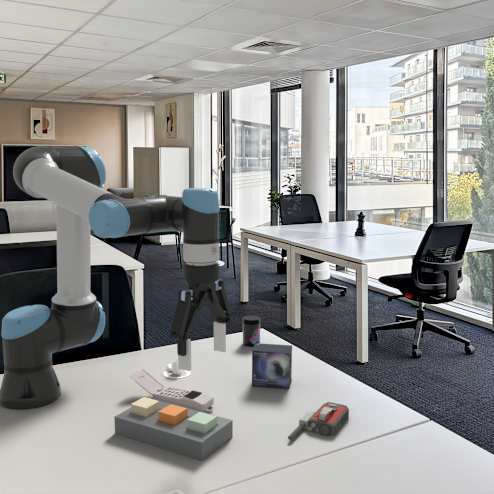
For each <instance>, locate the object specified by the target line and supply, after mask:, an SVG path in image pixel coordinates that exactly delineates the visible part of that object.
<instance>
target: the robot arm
mask: <svg viewBox="0 0 494 494" xmlns="http://www.w3.org/2000/svg"><path fill="white" fill-rule="evenodd" d="M15 159H16V160H15V161H14V164H13V169H12V175H13V180H14V182H15V184H16V185H17V187H18V188H19V189H20V190H22V191H23V192H24V193H25V194H27V195H29V196H31V197H33V198H36V199H46V200H48V201H50V202H51V203H53V204H55V206H56V209H55V210H56V267H57V268H56V272H57V273H56V275H57V277H56V278H57V279H56V280H57V281H56V283H57V286H56V287H57V290H56V291H57V293H55V294H54V296H52V297H51V308H49V306H47V305H44V304H33V305H25V306H21V307H16V308H15V309H12V310H10V311H9V312H7V313H6V314H5V315H4V317H2V320H1V331H0V333H1V335H0V336H1V340H2V353H3V356H2V357H3V366H4V367H3V368H4V374H3V377H2V380H1V383H0V384H1V385H0V405H1V406H2V407H4V408H8V409H12V410H13V409H14V410H15V409H16V410H17V409H18V410H27V409H32V408H33V409H34V408H38V407H42V406H45V405H48V404H51V403H53V402H54V401H56V400H57V399H59V397H60V396H61V394H62V393H61V391H62V390H61V383H60V381H59V379H58V376H57V374H56V372H55V369H54V367H53V356H52V355H53V354H54V353H58V352H62V351H65V350H69V349H75V348H77V347H82V346H83V347H84V346H86V345H88V344H90V343H94V342H96V341H97V340H98V339H100V337H101V336H102V335H103V333H104V330H105V327H106V313H105V311H104V308H103V306H102V304H101V303H100V302H99V300H97V296H96V295H95V294H94V293H92V291H91V230H92V231H93V233H94V235H95V236H97V237H99V238H101V239H108V238H111V239H117V238H122V237H123V238H124V237H128V236H136V235H142V234H144V235H145V234H153V233H161V232H179V233H182V235H183V236H182V237H183V238H182V242H183V245H182V247H183V248H182V249H183V251H182V253H183V255H182V256H183V257H182V259H183V261H184V265H183V280H184V281H185V282H187V284H188V287H187V290H181V289H180V290H179V291H178V292H177V295H178V296H177V304H176V308H175V312H174V316H173V320H172V325H171V329H170V333H169V338H170V339H172V340H176V344H177V345H176V346H177V347H176V348H177V356H178V357H177V360H178V368H179V369H181V370H182V371H183V370H186V371H190V372H191V371H192V340H191V339H190V338H189V337H190V334H191V331H192V329H193V327H194V324H195V321H196V319H197V316H198V314H199V312H201V311H202V309H203V308H204V307H206V306H207V307H208V309H209V311H210V312H211V314H212V316H213V318H214V320H215V321H214V322H213V351H215V352H216V351H217V352H220V353H225V352H227V347H226V346H227V344H226V343H227V342H226V341H227V340H226V339H227V337H226V336H227V334H226V333H227V326H226V324H229V323H231V318H232V316H233V314H232V313H233V312H232V310H231V306H230V303H229V301H228V296H227V294H226V293H227V292H226V291H225V282H224V280H223V279H221V277H220V276H221V275H220V273H221V270H220V268H221V267H220V263H219V262H218V261H219V260H220V251H221V250H220V210H221V209H220V200H219V193H218V190H216V189H215V188H211V187H210V188H209V187H193V188H191V187H190V188H184V189H183V190H182V194H181V195H182V196H176V195H175V196H172V195H167V194H158V195H157V194H156V195H151V196H148V197H136V198H135V197H134V198H123V197H121V196H119V195H116V194H115V193H112V192H109V191H108V190H106V189H103V187H104V185H105V184H106V178H107V171H106V167H105V163H104V161H103V159H102V157H101V156H100V154H99V153H98V152H97V151H96V150H95V149H93V147H92V148H91V147H87V146H79V145H65V146H64V145H62V146H61V145H58V146H57V145H55V146H54V145H53V146H50V145H49V146H47V145H38V146H32V147H30V148H28V149H25V150H24V151H23V152H21V153H20V154H19V155H18V157H16V158H15ZM186 371H185V372H186Z"/></svg>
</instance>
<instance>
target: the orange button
mask: <svg viewBox="0 0 494 494" xmlns="http://www.w3.org/2000/svg"><path fill="white" fill-rule="evenodd" d="M158 418H159V421H161V422H165V423H168V424H172V425H177V424H179V423H180V422H182V421H183V420H185V419H186V418H187V408H184V407H180V406H176V405H172V404H170V405H169V406H167V407H165V408H164V409H162V410H160V411H158Z"/></svg>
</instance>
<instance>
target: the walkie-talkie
mask: <svg viewBox="0 0 494 494" xmlns="http://www.w3.org/2000/svg"><path fill="white" fill-rule="evenodd" d="M349 417H350V409H349V407H348V406H347V405H345V404H341V403H336V402H331V401H327V402H325V403H323V404H322V405H320V407H319V408H318V409H317V410H316V411H311V412H307V413H305V414H304V415H303V416H302V417H301V418H300V419H299V420H298V426H297V427H296V428H295V429H294V430H293V431H292V432H291V433H290V434H289V436H287V439H288V440H289V441H292V440H293V439H295V437H296V436H297V435H299V433H300V432H301V431H302V430H307V431H308V432H314V433H319V434H322V435H323V436H331V437H332V436H335V435H336V434H337V433H338V432H339V430H340V429H341V428H342V426H343V425H344V424H345V423H346V422H347V421H346V420H349ZM345 421H346V422H345Z"/></svg>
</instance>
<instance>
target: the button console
mask: <svg viewBox="0 0 494 494" xmlns="http://www.w3.org/2000/svg"><path fill="white" fill-rule="evenodd" d="M149 398H150V397H149ZM150 399H152V398H150ZM157 401H158V400H157ZM169 405H170V403H166V402H162V401H159V408H160V410H162V409H164V408H165V407H167V406H169ZM172 405H173V404H172ZM176 406H177V405H176ZM180 407H181V406H180ZM184 408H185V407H184ZM160 410H159V411H160ZM199 412H200V411H196V410H192V409H188V408H187V418H186V419H185V420H183V421H182V422H180V423H179V424H177V425H172V424H168V423H165V422H161V421H159V418H158V411H157V412H155V413H154V414H152V415H150V416H148V417H144V416H140V415H137V414H133V413H131V407H129V408H128V409H125V410H124V411H122V412H121V413H119V414H118V413H117V414H116V415H115V416H114V434H116V435H120V436H123V437H125V438H128V439H132V440H136V441H139V442H142V443H145V444H148V445H151V446H154V447H157V448H161V449H164V450H166V451H171V452H174V453H175V454H176V453H177V454H180V455H183V456H186V457H190V458H193V459H196V460H200V461H204V460H205V459H206V458H208V457H209V456H210V455H211V454H213V453H214V452H215V451H217V450H218V449H219V448H220V447H222V446H223V445H224V444H226V443H227V442H228V441H229V440H230V439H232V438H233V437H234V436H233V434H234V433H233V427H234V426H233V419H229V418H227V417H226V418H225V417H222V416H218V415H215V414H213V415H214V416H217V426H216V427H215V428H214V429H212V430H211V431H209V432H208V433H207V434H203V433H200V432H196V431H193V430H189V429H188V419H189V418H191V417H192V416H194V415H195V414H197V413H199ZM203 413H204V412H203ZM206 414H208V413H206ZM209 414H210V415H212V414H211V413H209Z"/></svg>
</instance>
